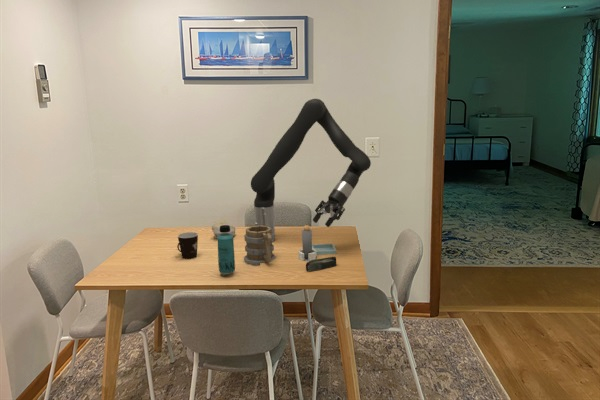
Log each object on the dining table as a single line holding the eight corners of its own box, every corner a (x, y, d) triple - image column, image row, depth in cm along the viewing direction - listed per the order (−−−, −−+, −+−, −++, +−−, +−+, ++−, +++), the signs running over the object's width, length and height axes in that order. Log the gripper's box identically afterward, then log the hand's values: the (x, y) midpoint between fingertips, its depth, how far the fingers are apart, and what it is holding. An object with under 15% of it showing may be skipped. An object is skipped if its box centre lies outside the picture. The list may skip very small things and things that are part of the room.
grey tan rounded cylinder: (303, 259, 196) (302, 227, 193) (302, 256, 200) (301, 225, 197) (312, 259, 196) (312, 227, 193) (311, 256, 200) (310, 224, 197)
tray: (313, 257, 202) (313, 251, 201) (310, 249, 211) (310, 244, 211) (336, 256, 202) (336, 250, 202) (332, 248, 212) (332, 243, 212)
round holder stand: (305, 264, 193) (305, 255, 192) (295, 259, 199) (294, 250, 198) (320, 260, 197) (320, 251, 197) (309, 255, 203) (309, 247, 203)
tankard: (241, 257, 203) (239, 224, 200) (269, 253, 208) (268, 220, 205) (254, 273, 185) (253, 237, 182) (284, 268, 190) (283, 232, 187)
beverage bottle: (219, 272, 188) (216, 223, 183) (236, 271, 188) (233, 223, 184) (218, 278, 181) (214, 228, 177) (235, 277, 182) (232, 227, 177)
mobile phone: (333, 255, 190) (301, 261, 183) (337, 257, 188) (305, 263, 180) (333, 266, 191) (301, 273, 184) (337, 268, 189) (305, 275, 181)
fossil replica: (240, 236, 236) (224, 235, 240) (238, 219, 235) (222, 219, 239) (226, 241, 225) (209, 240, 230) (224, 224, 224) (207, 223, 229)
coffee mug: (192, 252, 212) (191, 231, 210) (203, 256, 206) (201, 234, 204) (169, 258, 204) (167, 236, 202) (179, 263, 198) (177, 240, 196)
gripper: (325, 186, 207) (305, 215, 203) (347, 191, 195) (326, 222, 191) (335, 196, 211) (315, 225, 207) (356, 201, 200) (336, 232, 196)
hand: (320, 223), depth 199 cm, fingers open, 8 cm apart
